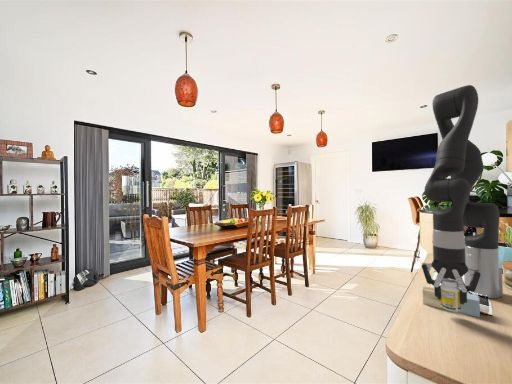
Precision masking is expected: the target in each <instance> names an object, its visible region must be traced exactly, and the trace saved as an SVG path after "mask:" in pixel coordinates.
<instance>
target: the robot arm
mask: <svg viewBox="0 0 512 384" xmlns="http://www.w3.org/2000/svg"><path fill="white" fill-rule="evenodd" d="M478 106H479V94H478V91H477V89H476V87H475V86H474V85H471V84H468V85H464V86H460V87H457V88H454V89H451V90H447V91H445V92H442V93H440V94H437V95H435V96H434V97H433V99H432V111H433V114H434V119H435V120H436V124H437V126H438V127H437V128H438V131H439V133H440V136H441V139H442V140H441V142H440V143H439V145H438V146H437V151H436V157H435V162H434V163H435V165H434V167H433V170H432V172H431V173H430V176H429V177H428V180H427V181H426V183H425V187H424V195H425V197H426V199H427V200H429V202H437V203H452V205H451V206H450V207H449V208H445V209H442V208H441V209H436V210H435V211H434V212H433V213H432V230H433V231H432V241H431V242H432V256H433V259H432V262H430V263H429V262H428V263H426V262H422V263H421V268H422V271H423V275H424V278H425V280H426V283H427V284H428V285H431V286H433V287H434V291H435V297H438V299H439V300H440V285H441V281H442V279H443V278H446V279H447V278H450V279H453V280H457V283H458V287H459V288H460V294H461V304H463V305H464V303H467V293H468V292H469V291H471V292H474V293H478V294H484V295H487V296H488V298H487V299H499V298H500V297H504V296H503V295H504V293H503V291H504V289H503V285H504V284H503V270H502V269H501V268H500V265H499V260H500V258H499V256H500V255H499V254H500V253H499V238H500V237H499V236H500V235H499V234H500V233H499V229H500V210H499V207H498V205H497V204H495V203H493V202H490V203H489V202H471V201H470V193H471V191H472V189H473V187H474V185H475V184H477V181H478V180H479V179H480V177H481V176H482V175H483V172H484V168H485V167H484V162H483V158H482V157H483V156H482V151H481V150H480V148H478V146H477V145H476V144H474V143H473V142H472V141H471V140H469V138H470V135H471V131H472V129H473V124H474V121H475V118H476V115H477V112H478V108H479V107H478ZM455 118H458V119H457V122H456V123H455V124H454V123H453V121H452V120H453V119H455ZM448 177H449V178H448ZM464 227H468V228H477V229H483V230H482V232H481V233H479V234H475V235H467V236H465V231H464ZM431 269H433V270H434V271H435V272H436V273H437V275H436V277H435V279H433V278H432V276H431V273H430V271H431ZM463 276H464V280H463Z"/></svg>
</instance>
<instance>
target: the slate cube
mask: <svg viewBox="0 0 512 384" xmlns="http://www.w3.org/2000/svg"><path fill="white" fill-rule="evenodd" d="M480 302H481V301H480V296H478V295H474V294H471V293H468V292H467V303H464V305H463V304H461V311H457V313H459V314H463V315H467V316H472V317H476V318H480V317H481V313H480V312H481V306H480V305H481V304H480Z"/></svg>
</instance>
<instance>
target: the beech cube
mask: <svg viewBox="0 0 512 384" xmlns="http://www.w3.org/2000/svg"><path fill="white" fill-rule="evenodd" d="M422 304H423V305H424V306H429V307H433V308H438V309H443V307H442V306H441V299H440V300H439V299H438V297H435V291H434V286H433V285H427V284H423V289H422Z"/></svg>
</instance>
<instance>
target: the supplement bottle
mask: <svg viewBox="0 0 512 384" xmlns="http://www.w3.org/2000/svg"><path fill="white" fill-rule="evenodd" d="M439 286H440V299H441V306H442V309H445V310H446V311H451V312H458V311H461V294H460V286H459V284H458V283H457V280H453V279H450V278H447V279H446V278H443V279H442V281H441V283H440V285H439Z"/></svg>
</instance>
